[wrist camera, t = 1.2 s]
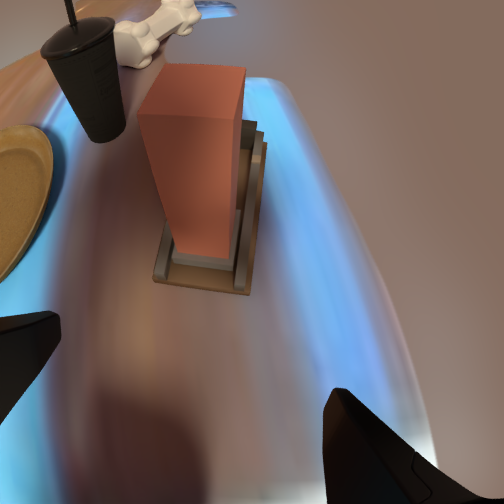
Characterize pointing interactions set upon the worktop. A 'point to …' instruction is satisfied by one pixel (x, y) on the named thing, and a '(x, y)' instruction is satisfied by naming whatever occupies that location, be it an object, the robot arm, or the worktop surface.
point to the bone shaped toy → (153, 32)
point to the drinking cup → (88, 73)
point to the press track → (249, 205)
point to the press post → (197, 157)
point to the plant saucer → (22, 190)
